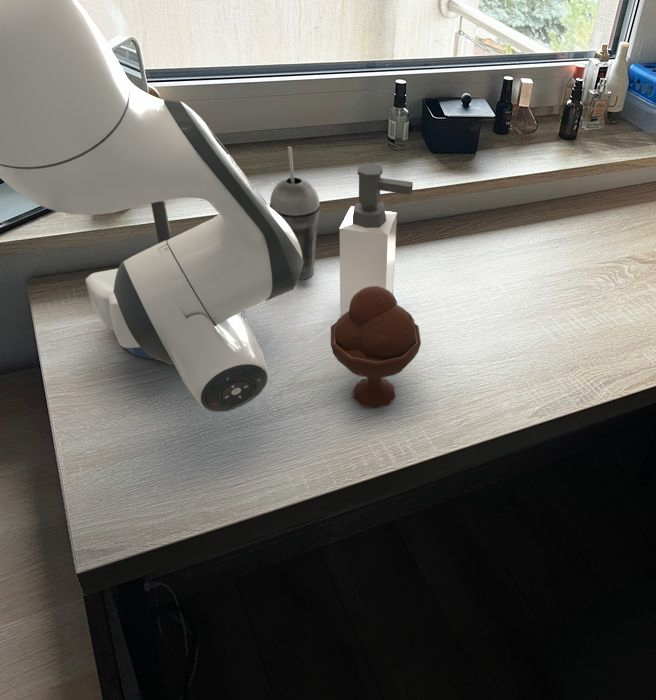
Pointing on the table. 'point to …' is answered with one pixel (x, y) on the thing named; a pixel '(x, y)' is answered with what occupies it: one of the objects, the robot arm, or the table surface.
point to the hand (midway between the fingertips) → (165, 251)
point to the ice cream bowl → (375, 343)
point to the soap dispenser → (369, 236)
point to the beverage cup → (299, 214)
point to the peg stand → (161, 221)
